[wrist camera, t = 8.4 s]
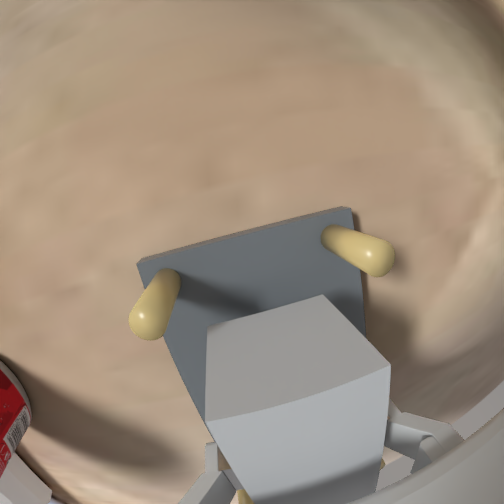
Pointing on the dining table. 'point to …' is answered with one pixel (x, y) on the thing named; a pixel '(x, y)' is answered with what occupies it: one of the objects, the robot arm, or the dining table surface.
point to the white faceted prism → (22, 485)
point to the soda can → (11, 414)
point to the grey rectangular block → (298, 403)
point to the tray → (253, 284)
